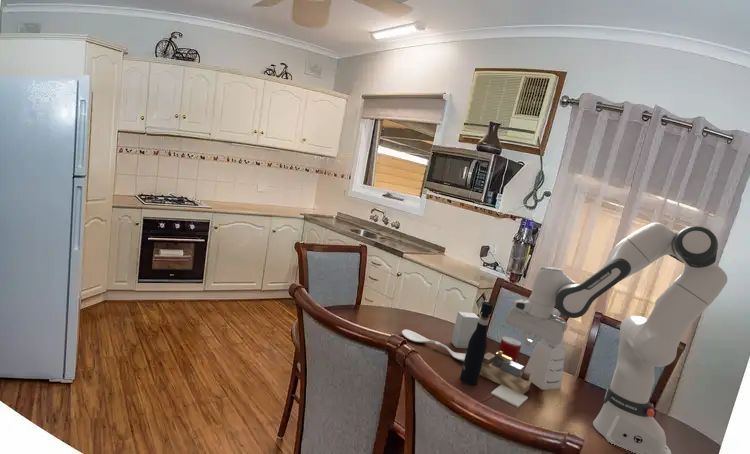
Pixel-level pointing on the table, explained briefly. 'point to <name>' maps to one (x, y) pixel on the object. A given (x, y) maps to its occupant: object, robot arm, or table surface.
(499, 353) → the latch bar
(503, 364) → the grey metal block
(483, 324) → the wine bottle
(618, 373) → the robot arm
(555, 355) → the grater
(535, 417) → the table surface
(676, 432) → the table surface
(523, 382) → the plane body
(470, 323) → the skincare box
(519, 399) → the felt mat
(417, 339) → the spoon
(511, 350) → the canned food
